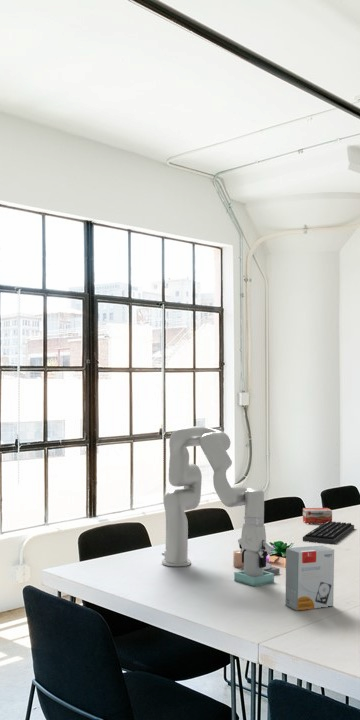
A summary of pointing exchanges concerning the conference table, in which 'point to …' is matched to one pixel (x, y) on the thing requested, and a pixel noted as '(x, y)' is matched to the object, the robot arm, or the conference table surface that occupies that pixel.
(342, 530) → the computer keyboard
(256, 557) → the can
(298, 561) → the hard drive box
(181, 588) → the conference table surface
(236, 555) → the peach rounded knob
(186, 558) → the robot arm
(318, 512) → the medicine box
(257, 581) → the trough
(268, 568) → the checker pad
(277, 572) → the base
